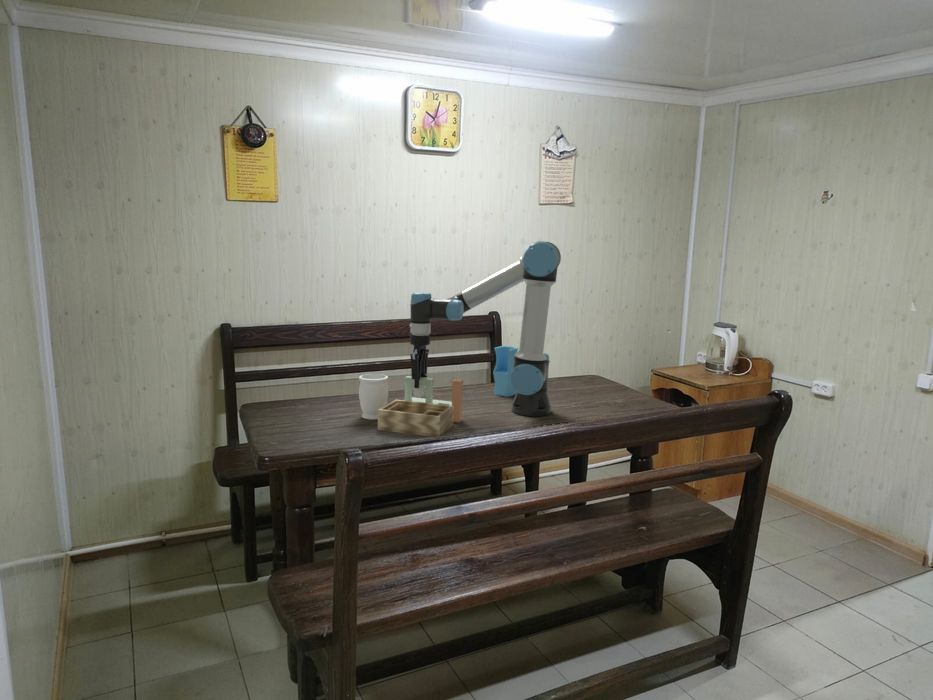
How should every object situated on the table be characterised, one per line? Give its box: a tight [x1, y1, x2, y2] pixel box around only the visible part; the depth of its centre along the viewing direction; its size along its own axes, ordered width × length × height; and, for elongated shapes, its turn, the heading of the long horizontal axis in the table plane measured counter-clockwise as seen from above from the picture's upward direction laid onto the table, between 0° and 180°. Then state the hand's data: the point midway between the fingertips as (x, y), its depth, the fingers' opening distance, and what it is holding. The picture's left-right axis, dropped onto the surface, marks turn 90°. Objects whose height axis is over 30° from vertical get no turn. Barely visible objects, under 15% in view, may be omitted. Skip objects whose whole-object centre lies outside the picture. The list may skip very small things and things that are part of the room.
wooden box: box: [377, 399, 454, 438], centre depth 217 cm, size 22×15×7 cm
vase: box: [492, 345, 519, 398], centre depth 268 cm, size 8×8×20 cm
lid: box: [403, 375, 452, 406], centre depth 237 cm, size 19×12×10 cm, turn 73°
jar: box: [358, 373, 389, 421], centre depth 228 cm, size 11×10×15 cm
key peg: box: [451, 378, 464, 423], centre depth 226 cm, size 3×3×15 cm
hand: (418, 395), depth 239 cm, fingers closed on lid, 2 cm apart
